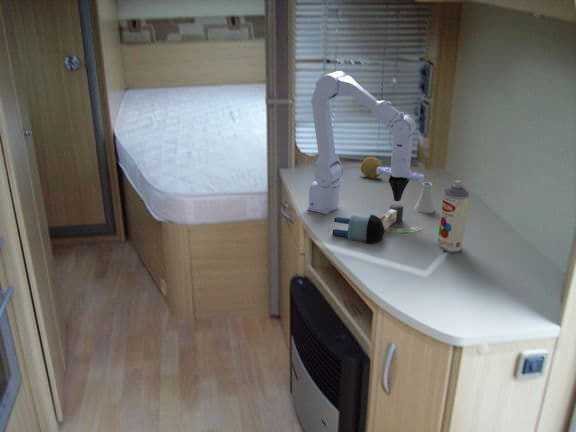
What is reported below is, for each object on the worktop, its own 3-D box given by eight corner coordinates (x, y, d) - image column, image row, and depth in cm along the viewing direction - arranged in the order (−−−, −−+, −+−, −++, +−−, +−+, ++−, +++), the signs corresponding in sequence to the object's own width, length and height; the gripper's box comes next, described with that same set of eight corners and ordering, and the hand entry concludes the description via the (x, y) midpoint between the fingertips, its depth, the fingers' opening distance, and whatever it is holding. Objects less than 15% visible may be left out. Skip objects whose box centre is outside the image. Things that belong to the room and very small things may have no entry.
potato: (359, 174, 230) (360, 154, 227) (378, 174, 230) (380, 154, 227) (363, 180, 223) (364, 160, 220) (383, 180, 224) (384, 159, 221)
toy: (332, 242, 176) (383, 249, 172) (326, 235, 168) (379, 242, 164) (337, 215, 178) (387, 221, 174) (332, 207, 170) (384, 213, 166)
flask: (435, 217, 190) (439, 188, 186) (412, 215, 191) (415, 186, 187) (435, 209, 196) (438, 181, 193) (412, 208, 198) (415, 179, 194)
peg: (392, 216, 187) (393, 202, 185) (404, 219, 185) (405, 205, 183) (372, 231, 176) (374, 216, 174) (385, 234, 174) (386, 219, 172)
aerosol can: (432, 245, 170) (439, 179, 163) (451, 241, 173) (460, 176, 165) (447, 255, 164) (455, 186, 157) (466, 251, 167) (476, 183, 159)
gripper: (373, 156, 177) (370, 199, 182) (419, 164, 170) (414, 208, 175) (383, 151, 183) (380, 192, 188) (428, 158, 176) (423, 202, 181)
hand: (397, 200), depth 182 cm, fingers closed
